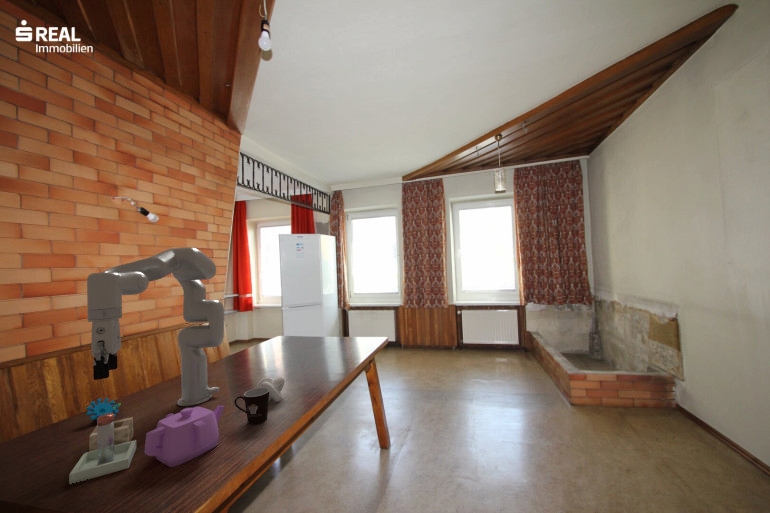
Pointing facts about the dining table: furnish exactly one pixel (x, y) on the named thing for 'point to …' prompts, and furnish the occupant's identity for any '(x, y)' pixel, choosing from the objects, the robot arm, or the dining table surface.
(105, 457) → the metal peg
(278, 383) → the grey torus knot
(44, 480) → the dining table surface
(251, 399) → the coffee mug
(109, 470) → the tray
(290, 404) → the dining table surface
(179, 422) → the teakettle
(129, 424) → the socket block
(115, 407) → the gear
